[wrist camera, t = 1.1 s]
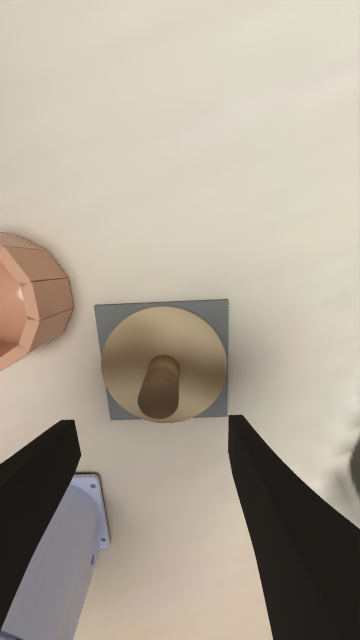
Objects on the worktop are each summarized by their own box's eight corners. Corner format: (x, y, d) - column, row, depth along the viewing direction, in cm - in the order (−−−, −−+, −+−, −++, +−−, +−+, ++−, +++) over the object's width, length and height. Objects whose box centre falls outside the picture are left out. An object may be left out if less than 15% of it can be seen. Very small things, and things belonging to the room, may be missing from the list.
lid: (224, 414, 18) (239, 465, 13) (112, 418, 18) (88, 469, 14) (225, 302, 16) (243, 318, 11) (97, 308, 16) (61, 325, 11)
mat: (226, 413, 19) (227, 416, 18) (112, 416, 19) (110, 420, 18) (227, 299, 16) (228, 300, 16) (95, 304, 16) (93, 305, 16)
